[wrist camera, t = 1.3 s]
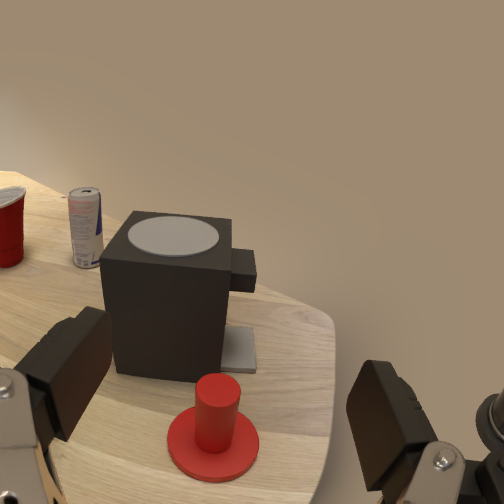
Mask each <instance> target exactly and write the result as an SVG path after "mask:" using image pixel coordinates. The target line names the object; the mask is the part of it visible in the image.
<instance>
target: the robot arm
mask: <svg viewBox="0 0 504 504" xmlns="http://www.w3.org/2000/svg"><path fill="white" fill-rule="evenodd" d="M111 361H112V321H111V314H110V313H109V312H107V311H103V310H100V309H96V308H93V307H89V306H87V307H85V308H84V309H83V310H82V311H81V312H80V313H79V314H78V315H77V316H76V318H71V317H69V318H67V319H65V320H62V321H60V322H58V323H56V324H55V325H54V326H53V327H52V328H51V329H50V330H49V331H48V333H47V335H46V334H45V336H44V337H43V338H42V339H41V340H40V342H38V343H37V344H36V345H35V346H34V347H33V348H32V349H31V350H30V351H29V352H28V353H27V354H26V356H25V357H24V358H23V359H22V360H21V361H20V362H19V363H18V364H17V365H16V366H15V367H14V369H11V368H0V504H68V503H67V501H66V498H65V495H64V492H63V489H62V486H61V483H60V480H59V477H58V474H57V470H56V467H55V463H54V460H53V456H52V452H51V449H50V446H49V445H50V443H51V441H52V440H53V438H54V437H55V438H58V439H60V440H62V441H65V442H67V441H68V439H69V437H70V436H71V434H72V432H73V430H74V428H75V427H76V425H77V423H78V421H79V419H80V418H81V416H82V414H83V412H84V411H85V409H86V407H87V405H88V404H89V402H90V400H91V399H92V397H93V395H94V393H95V392H96V390H97V388H98V387H99V385H100V383H101V382H102V380H103V378H104V377H105V375H106V373H107V372H108V370H109V368H110V365H111ZM346 412H347V416H348V419H349V423H350V427H351V430H352V434H353V438H354V442H355V445H356V449H357V453H358V456H359V460H360V465H361V469H362V472H363V476H364V480H365V484H366V489H367V491H380V490H382V494H383V496H382V497H381V498H380V500H379V501H378V502H377V504H504V451H502V450H494V451H492V452H490V454H488V456H487V457H486V458H485V459H484V460H483V461H482V462H481V461H472V460H465V459H464V457H463V455H462V453H461V452H460V451H459V450H458V449H457V448H456V447H455V446H454V445H452V444H450V443H447V442H444V441H439V440H438V439H437V436H436V434H435V432H434V430H433V428H432V426H431V424H430V422H429V420H428V418H427V416H426V415H425V413H424V411H423V410H422V407H421V405H420V403H419V401H417V397H416V395H415V393H414V391H413V390H412V388H411V387H410V386H409V385H408V384H407V383H406V382H405V381H404V380H403V379H402V378H401V377H398V376H397V374H396V372H395V370H394V368H393V366H392V364H391V363H390V362H388V361H376V360H367V361H365V362H364V364H363V366H362V368H361V370H360V372H359V375H358V377H357V379H356V381H355V383H354V385H353V387H352V389H351V392H350V393H349V395H348V399H347V404H346ZM487 416H488V422H489V425H490V428H491V430H492V431H493V433H494V434H495V436H496V437H497V438H498V439H499V440H500V441H501V442H503V443H504V389H503V390H502V392H501V393H500V394H499V395H498V397H497V398H496V399H495V400H494V401H493V402H492V403H491V405H490V406H489V408H488V413H487Z"/></svg>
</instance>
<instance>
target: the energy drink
mask: <svg viewBox="0 0 504 504" xmlns="http://www.w3.org/2000/svg"><path fill="white" fill-rule="evenodd" d="M68 207H69V219H70V230H71V239H72V248H73V256H74V262H75V264H76V265H77V266H79V267H81V268H94V267H97V266H99V265H100V263H99V257H100V255H101V254H102V252H103V251H104V247H103V233H102V216H101V195H100V192H99V189H97V188H92V187H83V188H78V189H74V190H72V191H70V192H69V197H68Z"/></svg>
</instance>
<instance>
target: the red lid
mask: <svg viewBox="0 0 504 504" xmlns="http://www.w3.org/2000/svg"><path fill="white" fill-rule="evenodd" d="M240 394H241V389H240V386H239V384H238V383H237V381H236V380H235V379H233V378H232V377H230V376H228V375H226V374H222V373H212V374H208V375H205V376H203V377H202V378H201V379H200V380H199V381H198V382H197V384H196V388H195V407H192V408H189V409H187V410H185V411H183V412H182V413H181V414H179V415H178V416H177V417H176V418H175V419H174V421H173V422H172V424H171V425H170V428H169V431H168V437H167V441H168V448H169V452H170V455H171V458H172V460H173V461H174V463H175V464H176V465H177V466H178V467H179V469H181V470H182V471H183V472H184V473H186V474H187V475H189V476H191V477H193V478H195V479H198V480H201V481H206V482H225V481H229V480H232V479H235V478H237V477H239V476H241V475H242V474H244V473H245V472H246V471H247V470H248V469H249V468H250V467H251V466H252V464H253V463H254V461H255V458H256V456H257V453H258V449H259V438H258V434H257V431H256V429H255V427H254V426H253V424H252V423H251V422H250V421H249V419H248V418H246V417H245V416H244V415H243V414H241V413H240V412H238V405H239V400H240Z"/></svg>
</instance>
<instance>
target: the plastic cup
mask: <svg viewBox="0 0 504 504" xmlns="http://www.w3.org/2000/svg"><path fill="white" fill-rule="evenodd" d="M25 194H26V188H25V187H22V186H13V187H8V188H3V189H0V267H2V268H8V267H12V266H14V265H16V264H18V263H20V262H21V261H22V259H23V254H24V250H23V240H24V234H23V210H24V197H25Z"/></svg>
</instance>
